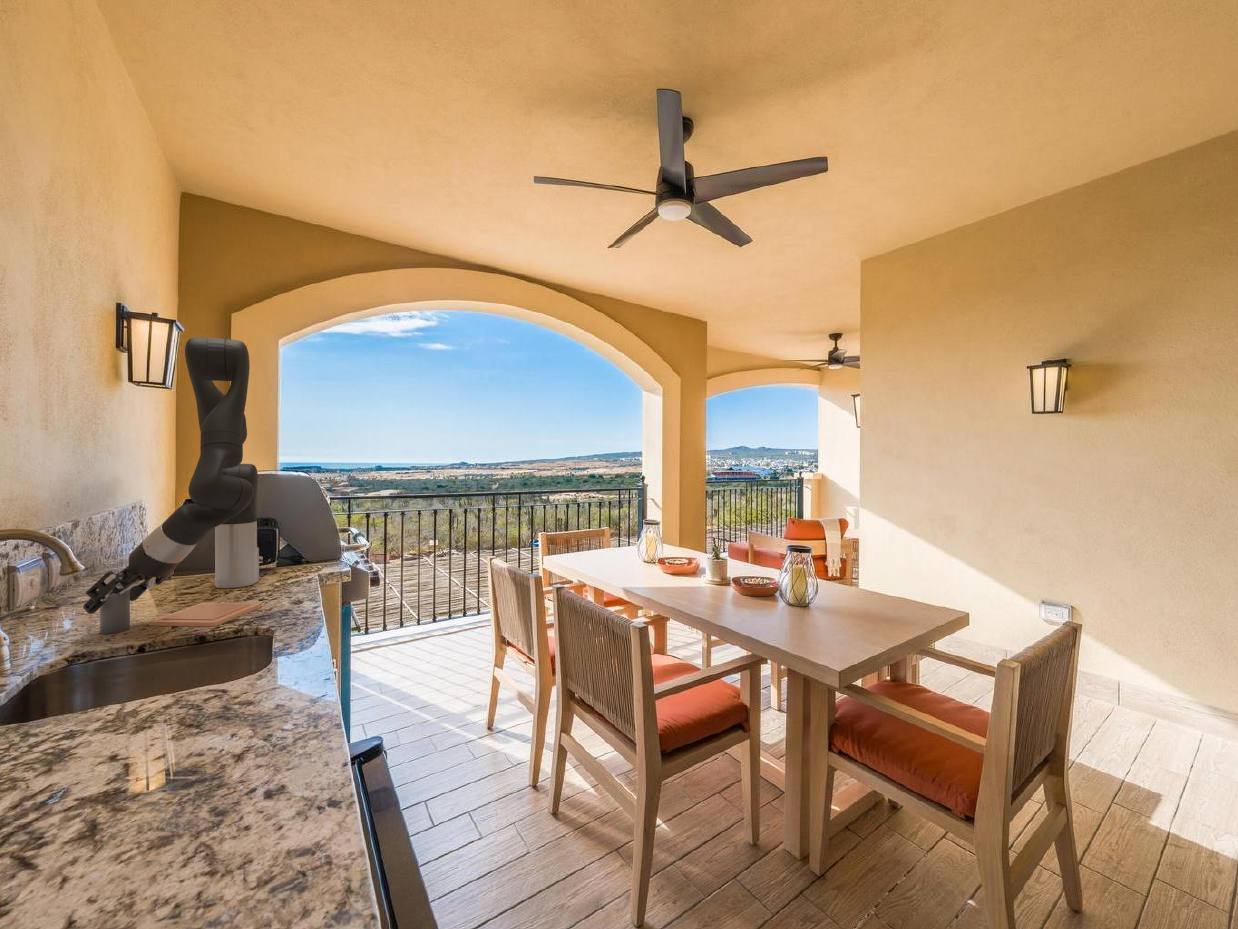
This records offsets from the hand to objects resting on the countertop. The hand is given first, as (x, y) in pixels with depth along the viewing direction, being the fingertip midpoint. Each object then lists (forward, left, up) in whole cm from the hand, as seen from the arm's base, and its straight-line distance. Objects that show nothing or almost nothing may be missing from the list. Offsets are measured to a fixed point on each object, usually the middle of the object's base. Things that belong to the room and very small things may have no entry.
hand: (109, 604), depth 105 cm
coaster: (-10, +12, -5) cm, 17 cm away
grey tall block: (0, +1, -5) cm, 5 cm away
